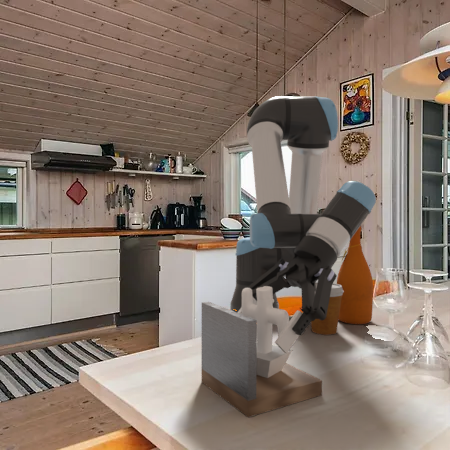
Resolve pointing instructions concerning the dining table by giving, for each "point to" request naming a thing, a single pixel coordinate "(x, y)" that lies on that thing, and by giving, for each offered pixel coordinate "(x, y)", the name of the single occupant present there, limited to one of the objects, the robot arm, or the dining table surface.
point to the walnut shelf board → (270, 390)
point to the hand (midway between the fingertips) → (255, 337)
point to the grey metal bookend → (230, 348)
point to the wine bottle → (355, 285)
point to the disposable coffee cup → (330, 313)
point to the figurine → (266, 329)
